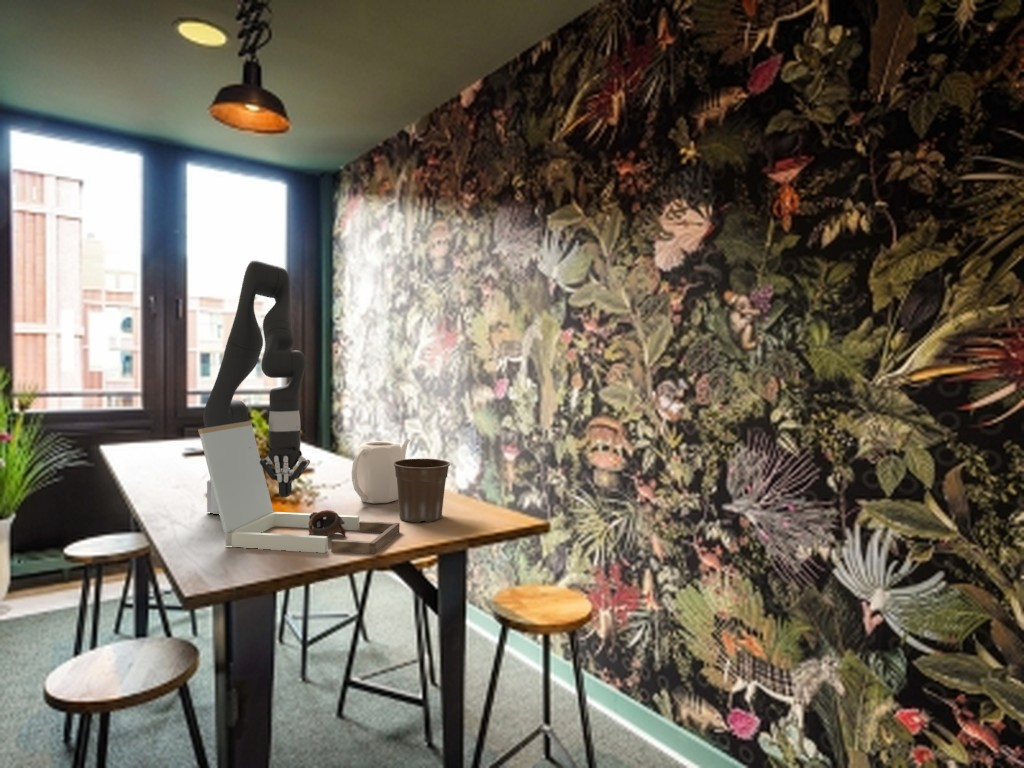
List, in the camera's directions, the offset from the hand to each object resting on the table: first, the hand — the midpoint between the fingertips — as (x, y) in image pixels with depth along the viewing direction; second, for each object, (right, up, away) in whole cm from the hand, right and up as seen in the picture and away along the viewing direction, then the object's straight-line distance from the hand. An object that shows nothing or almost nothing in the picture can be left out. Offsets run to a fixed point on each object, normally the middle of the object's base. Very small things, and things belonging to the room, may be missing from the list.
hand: (285, 496), depth 153 cm
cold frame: (-1, -10, 0) cm, 10 cm away
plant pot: (+31, -10, +21) cm, 39 cm away
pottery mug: (+10, -11, 0) cm, 15 cm away
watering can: (+15, -10, +43) cm, 47 cm away
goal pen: (+21, -11, -3) cm, 24 cm away
